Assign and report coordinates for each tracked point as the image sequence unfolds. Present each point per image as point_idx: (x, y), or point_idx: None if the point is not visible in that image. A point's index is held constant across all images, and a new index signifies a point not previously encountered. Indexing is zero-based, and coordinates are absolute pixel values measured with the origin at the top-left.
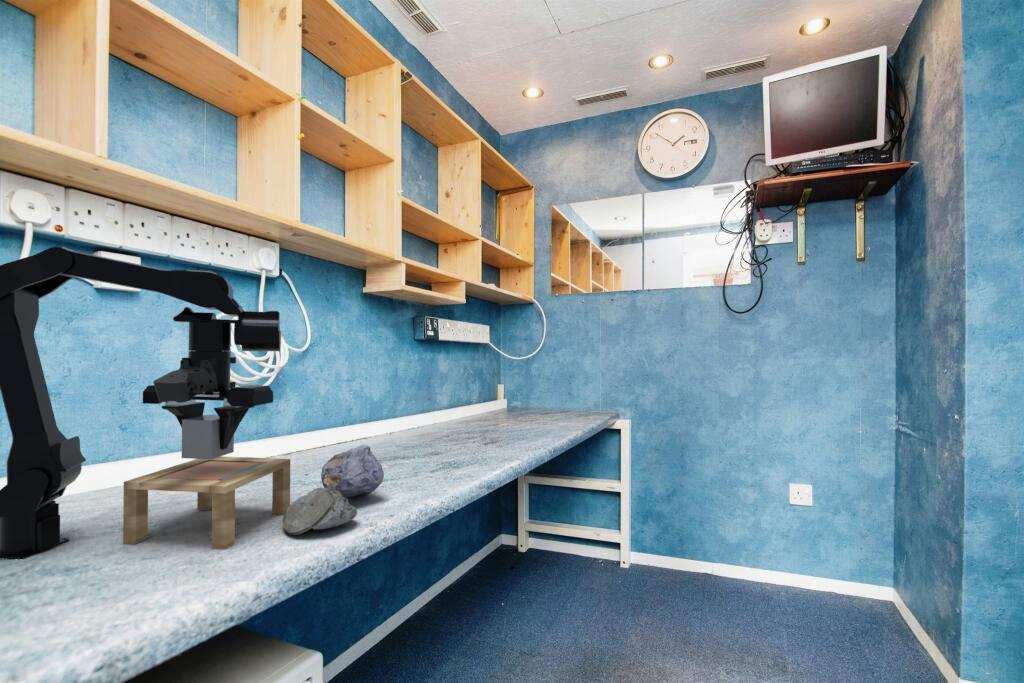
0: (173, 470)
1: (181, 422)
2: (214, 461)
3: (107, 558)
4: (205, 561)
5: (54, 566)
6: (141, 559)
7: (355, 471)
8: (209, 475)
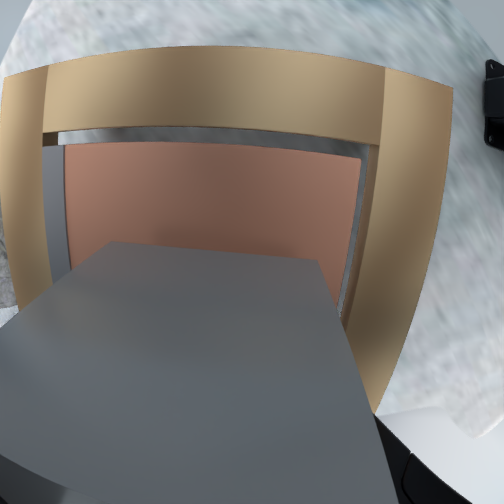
0: (371, 273)
1: (429, 496)
2: None
3: (338, 35)
4: (111, 44)
5: (409, 14)
6: (255, 29)
7: None
8: (142, 207)
